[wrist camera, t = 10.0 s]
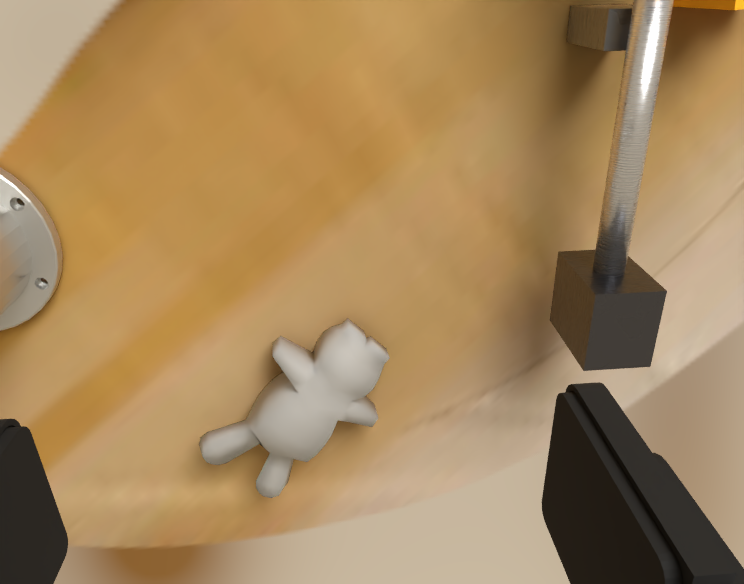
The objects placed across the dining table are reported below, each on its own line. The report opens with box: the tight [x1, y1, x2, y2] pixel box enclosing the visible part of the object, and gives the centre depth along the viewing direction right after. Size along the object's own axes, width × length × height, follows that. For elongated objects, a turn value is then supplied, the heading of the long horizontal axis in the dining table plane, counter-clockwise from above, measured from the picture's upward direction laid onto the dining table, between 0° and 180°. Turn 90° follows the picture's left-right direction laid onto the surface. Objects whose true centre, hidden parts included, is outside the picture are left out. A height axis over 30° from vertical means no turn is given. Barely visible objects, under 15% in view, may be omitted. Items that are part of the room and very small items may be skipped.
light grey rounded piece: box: [199, 318, 389, 498], centre depth 45 cm, size 10×5×15 cm
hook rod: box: [550, 0, 674, 371], centre depth 33 cm, size 23×4×6 cm, turn 2°
